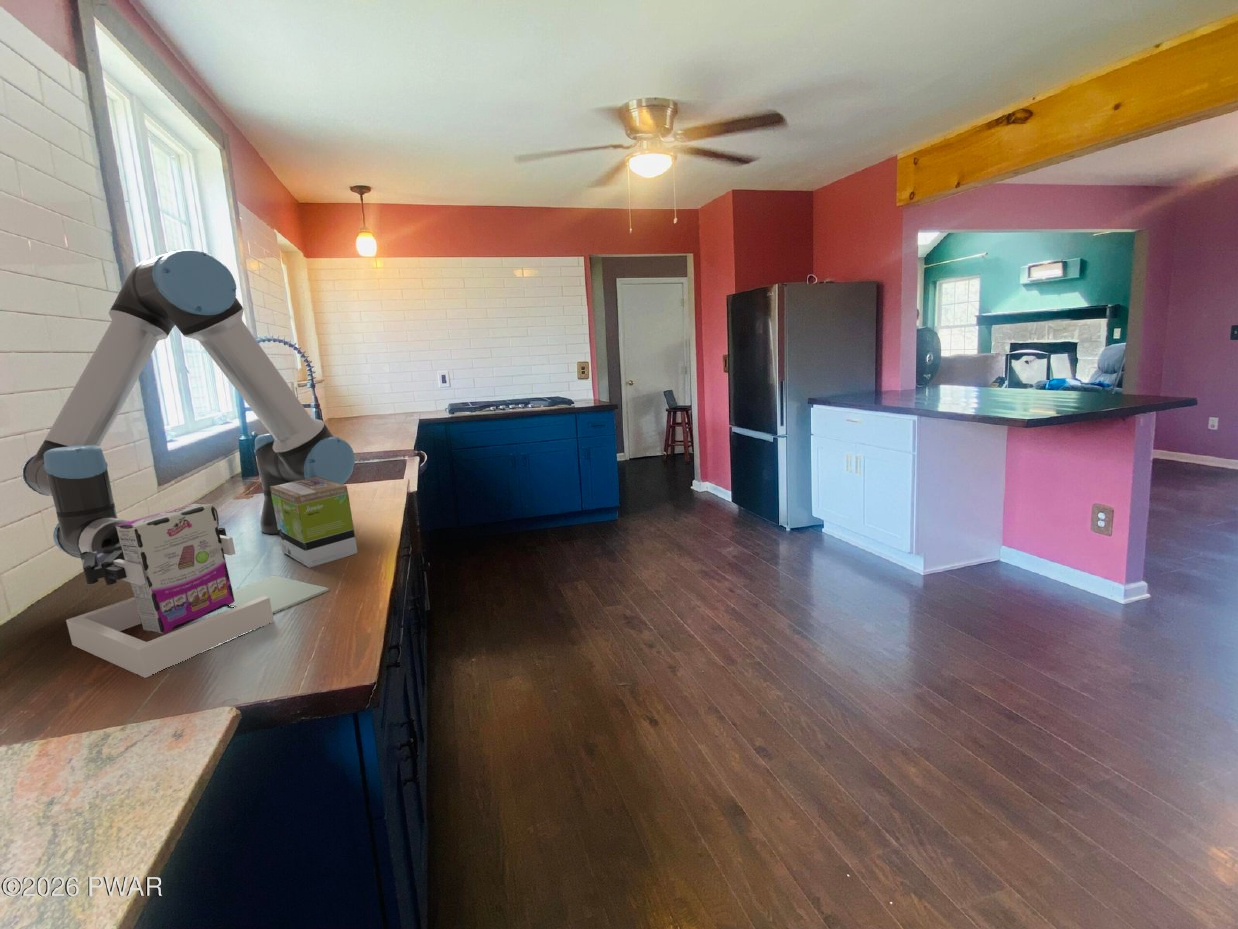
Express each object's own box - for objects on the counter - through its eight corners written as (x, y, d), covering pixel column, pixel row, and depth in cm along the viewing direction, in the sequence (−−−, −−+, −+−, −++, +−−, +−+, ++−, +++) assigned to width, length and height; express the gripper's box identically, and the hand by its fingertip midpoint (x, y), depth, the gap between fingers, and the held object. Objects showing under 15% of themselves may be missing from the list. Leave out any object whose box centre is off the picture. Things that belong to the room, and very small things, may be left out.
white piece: (198, 599, 102) (193, 577, 101) (274, 621, 91) (269, 597, 90) (72, 645, 87) (65, 619, 87) (145, 678, 77) (138, 649, 76)
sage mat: (274, 577, 110) (273, 575, 110) (328, 590, 103) (328, 588, 102) (210, 601, 101) (210, 598, 101) (265, 617, 93) (265, 614, 93)
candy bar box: (214, 599, 97) (193, 502, 93) (236, 602, 95) (215, 503, 91) (139, 631, 86) (113, 523, 83) (162, 636, 85) (135, 526, 81)
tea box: (280, 554, 124) (268, 485, 121) (329, 540, 131) (319, 475, 128) (307, 569, 114) (295, 494, 111) (359, 554, 121) (349, 483, 118)
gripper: (201, 541, 108) (272, 556, 98) (29, 593, 88) (94, 618, 78) (193, 502, 107) (264, 512, 96) (15, 545, 87) (80, 564, 76)
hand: (188, 559), depth 87 cm, fingers closed on candy bar box, 11 cm apart
